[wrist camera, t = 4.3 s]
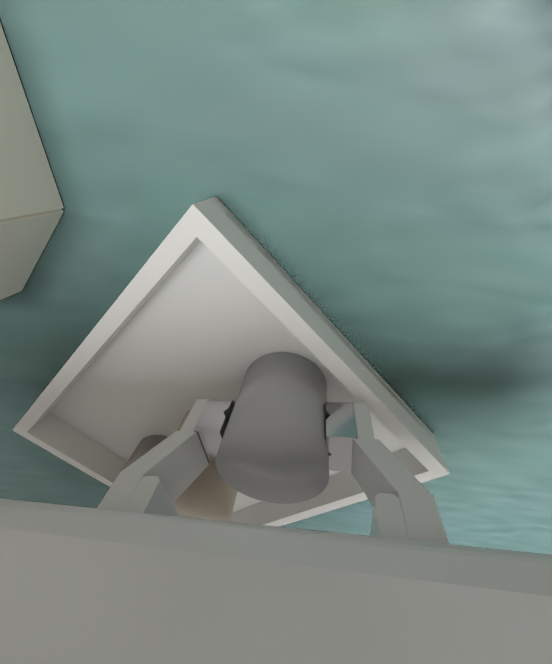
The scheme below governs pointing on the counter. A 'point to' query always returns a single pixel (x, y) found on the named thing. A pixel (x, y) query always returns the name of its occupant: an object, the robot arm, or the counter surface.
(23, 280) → the bowl
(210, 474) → the pebble
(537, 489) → the counter surface
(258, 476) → the grey rounded lump
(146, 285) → the tray
